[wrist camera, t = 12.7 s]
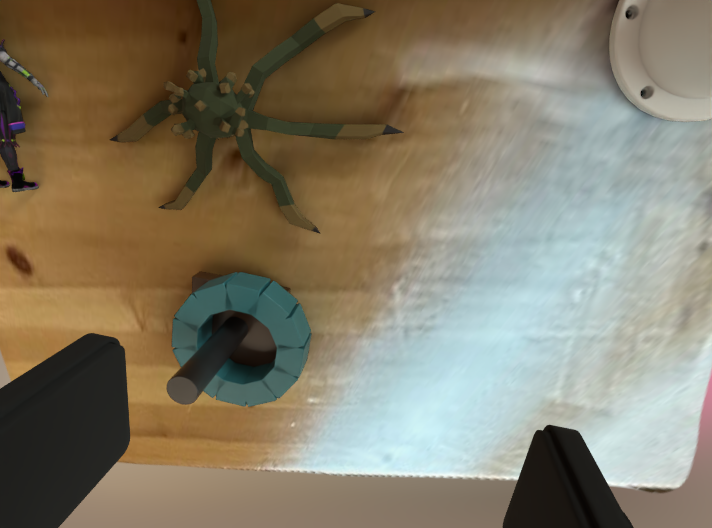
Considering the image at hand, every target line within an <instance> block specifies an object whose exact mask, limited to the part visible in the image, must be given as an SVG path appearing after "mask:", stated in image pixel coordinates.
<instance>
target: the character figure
mask: <svg viewBox="0 0 712 528" xmlns="http://www.w3.org/2000/svg"><path fill="white" fill-rule="evenodd" d="M3 43H4V39H3V40H2V42H1V45H0V61H1V62H3V63H4V64H5V65H6V66H7V67H9V68H10V69H12V70H14V71H16V72H18V73H19V74H21V75H22V76H24V77H25V78H27V79H28V80H29V81H31V82H32V83H33V85H35V86H37V87H38V89H39V90H41V92H42V94H43V95H44V93H45V95H46V96H47V97H48V94H47V91H46V90H45V88H44V87H43V85H42V84H41V83H40V82H39V81H37V80H36V79H35V78H34V76H33V75H32V74H31V73H30V72H28V71H27V70H26V69H25V68H24V67H23V66H21V65H20V64H19V63H18V62H17V61H15V60H14V59H13V58H11V57H10V56H9V55H7V51H6V50H5V49H4V46H3ZM16 98H17V97H16V91H15V90H14V91H13V88H12V86H11V85H10V84H9V83H8V82H7V81H6V80H5V78H4V76H3V74H2V72H1V71H0V154H1V157H2V158H3V160H4V162H5V164H6V166H7V168H8V171H7V172H8V173H9V175H10V177H11V180H12V191H13V192H20V191H25V190H34V189H38V188H39V186H38V184H37V183H35V182H26V181H24V180H25V176H24V174H23V168H21V169H20V168H19V167H18V163H17V154H16V150H15V148H14V146H15V147H17V146H19V145H18V144H17V143H16V140H15V135H16V134H19V133H23V132H25V131H26V130H25V125H26V124H25V123H24V122H23V118H22V114H21V106H20V105H19V104H20V99H19V98H17V99H18V102H17V99H16ZM16 145H17V146H16ZM19 147H20V146H19ZM22 179H23V180H22ZM9 186H10V185H9V182H8V181H1V180H0V188H6V187H9Z"/></svg>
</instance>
